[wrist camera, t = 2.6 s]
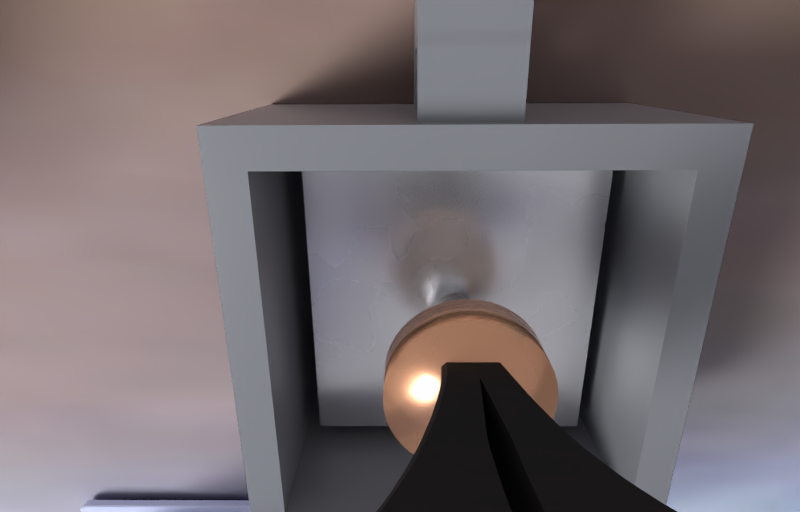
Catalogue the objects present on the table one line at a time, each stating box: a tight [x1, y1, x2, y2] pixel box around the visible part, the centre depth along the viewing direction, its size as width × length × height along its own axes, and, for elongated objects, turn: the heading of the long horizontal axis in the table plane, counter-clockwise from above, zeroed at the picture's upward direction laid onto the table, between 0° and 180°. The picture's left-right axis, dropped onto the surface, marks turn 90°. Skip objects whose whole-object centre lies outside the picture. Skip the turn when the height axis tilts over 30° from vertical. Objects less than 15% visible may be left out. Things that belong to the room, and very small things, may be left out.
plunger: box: [302, 170, 613, 454], centre depth 14 cm, size 9×9×5 cm
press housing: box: [197, 0, 754, 512], centre depth 16 cm, size 15×12×6 cm
